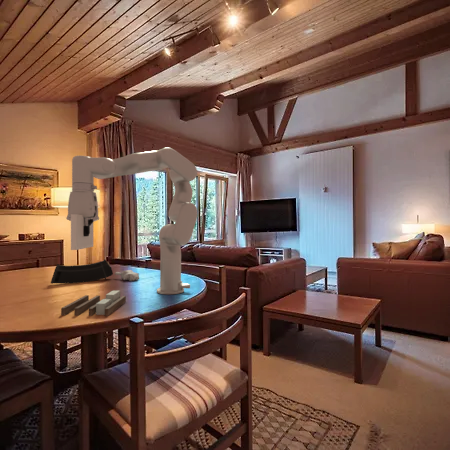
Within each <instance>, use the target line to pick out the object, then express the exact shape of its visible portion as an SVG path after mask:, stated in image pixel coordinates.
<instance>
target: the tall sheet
mask: <svg viewBox="0 0 450 450" xmlns="http://www.w3.org/2000/svg"><path fill="white" fill-rule="evenodd" d="M91 219H92V218H91ZM84 226H85V218H84V217H83V215H80V214H71V221H70V250H71V251H78V250H83V249H84V250H85V249H87V248H93V247H94V222H93V223H92V224H91V226H90V234H89V236H84Z"/></svg>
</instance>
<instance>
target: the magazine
mask: <svg viewBox="0 0 450 450" xmlns="http://www.w3.org/2000/svg"><path fill="white" fill-rule="evenodd" d="M113 275H114V272H113V269H112V267H111V264H110V263H109V261H107V260H106V259H103V260H101V261H97V262H93V263H87V264H80V265H78V264H77V265H76V264H73V265H62V264H61V265H60V264H56V265H55V268H54V271H53V275H52V277H51V280H50V284H52V285H53V284H80V283H89V282H95V281H99V280H104V279H105V280H107V278H110V277H111V276H113Z"/></svg>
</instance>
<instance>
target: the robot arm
mask: <svg viewBox="0 0 450 450" xmlns="http://www.w3.org/2000/svg"><path fill="white" fill-rule="evenodd" d="M167 168H169V169H170V170H169V173H168V174H169V179H170V180H171V182H172V184H173V185H174V194H173V198H172V202H171V204H170V207H169V209H168V218H169V220H170V221H172V222H175V223H169V224H168V223H167V224H165V225H163V226H162V227H161V228H160V230H159V231H158V240H159V246H160V249H159V250H160V266H159V267H160V269H159V270H160V271H159V272H160V274H159V275H160V276H159V277H160V278H159V279H160V280H159V283H160V284H159V285H160V286H159V287H158V288H157V289H156V293H157V294H161V295H177V294H178V295H179V294H182V293H184V291H185V289H191V284H190V283H184V282H183V280H182V251H181V249H182V248H181V246H184V245H185V246H186V245H187V244H188V243H189V242H190V240H191V238H192V236H193V233H194V228H195V226H196V223H197V219H198V209H197V207H196V205H195V204H194V203H193V202H192V199H193V188H192V185H191V183H190V182H192V181H193V180H196V178H197V176H198V169H197V167H196V165H195V164H194V162H192V161H191V160H189V159H188V158H186V157H185V156H184V155H182V154H181V153H180V152H178V151H177V150H175V149H174V148H171V147H168V146H167V147H163V148H161V149H159V150H158V149H157V150H151V151H144V152H134V153H130V154H127V155H124V156H121V157H118V158H113V159H111V158H108V157H92V156H87V155H75V156H73V157H72V160H71V179H72V180H71V191H70V192H69V197H68V204H67V216H66V217H65V218H66V220H68V221H70V222H71V214H80V215H83V217H84V218H85V226H84V236H89V234H90V226H91V224H92V223H93V224H94V223H95V222H96V221H98V220H99V219H100V217H99V205H98V197H97V194H96V192H94V191H95V190H97V189H98V186H97V185H95V183H94V181H95V180H94V179H98V180H103V179H111V178H116V177H121V176H128V175H137V174H141V173H147V172H153V171H160V170H164V169H167ZM91 218H92V219H91Z"/></svg>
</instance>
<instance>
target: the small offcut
mask: <svg viewBox="0 0 450 450" xmlns="http://www.w3.org/2000/svg"><path fill="white" fill-rule="evenodd" d="M109 305H111V299H105V298H103V299H100V301H99V302H98V303H96V313H95V315H97V316H99V315H101V316H102V315H103V316H105V308H107V307H108V306H109Z"/></svg>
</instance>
